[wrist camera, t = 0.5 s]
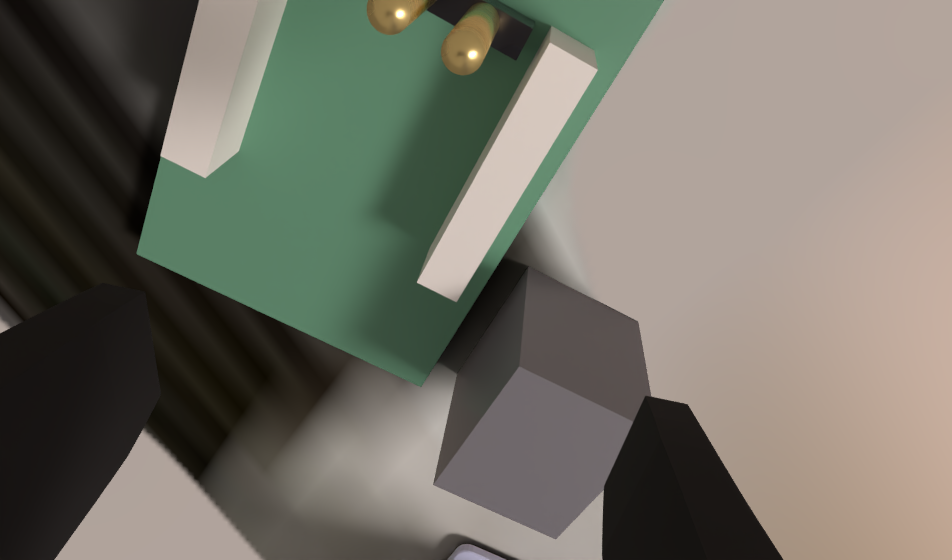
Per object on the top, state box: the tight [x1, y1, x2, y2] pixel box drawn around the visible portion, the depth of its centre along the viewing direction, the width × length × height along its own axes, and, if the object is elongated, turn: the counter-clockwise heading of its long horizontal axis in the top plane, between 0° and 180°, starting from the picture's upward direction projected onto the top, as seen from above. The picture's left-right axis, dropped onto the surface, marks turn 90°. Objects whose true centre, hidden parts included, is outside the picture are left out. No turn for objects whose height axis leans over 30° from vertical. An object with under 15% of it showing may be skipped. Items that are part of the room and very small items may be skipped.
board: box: [137, 0, 664, 387], centre depth 17 cm, size 14×10×3 cm
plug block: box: [433, 266, 651, 539], centre depth 20 cm, size 5×4×5 cm
